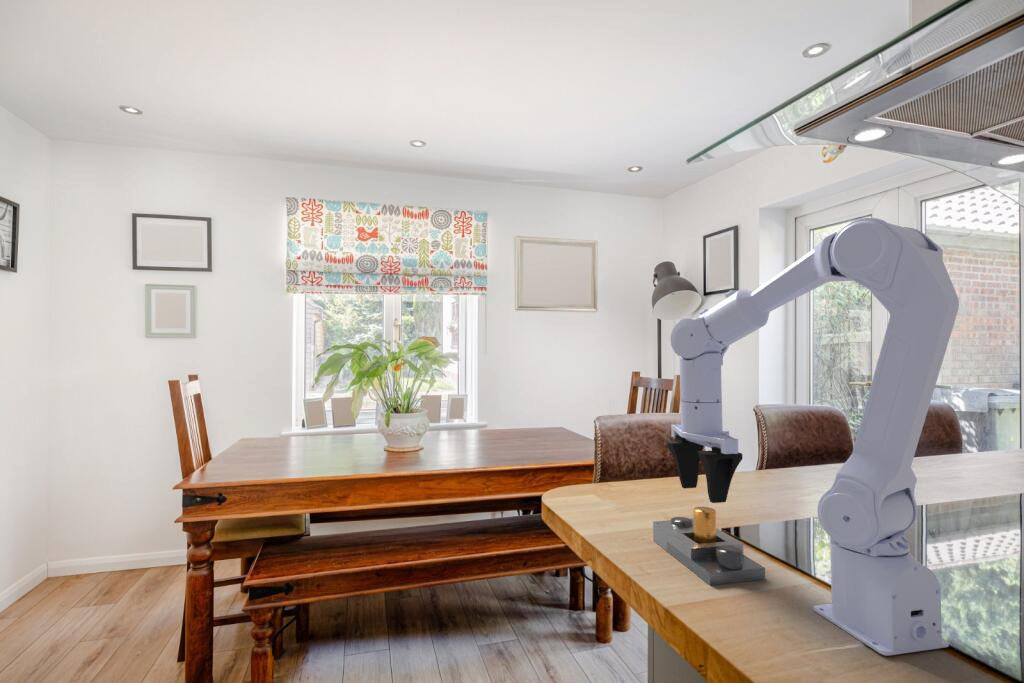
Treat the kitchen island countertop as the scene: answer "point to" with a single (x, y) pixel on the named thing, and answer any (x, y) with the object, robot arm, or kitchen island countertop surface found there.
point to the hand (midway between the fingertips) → (702, 494)
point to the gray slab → (706, 553)
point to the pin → (704, 525)
